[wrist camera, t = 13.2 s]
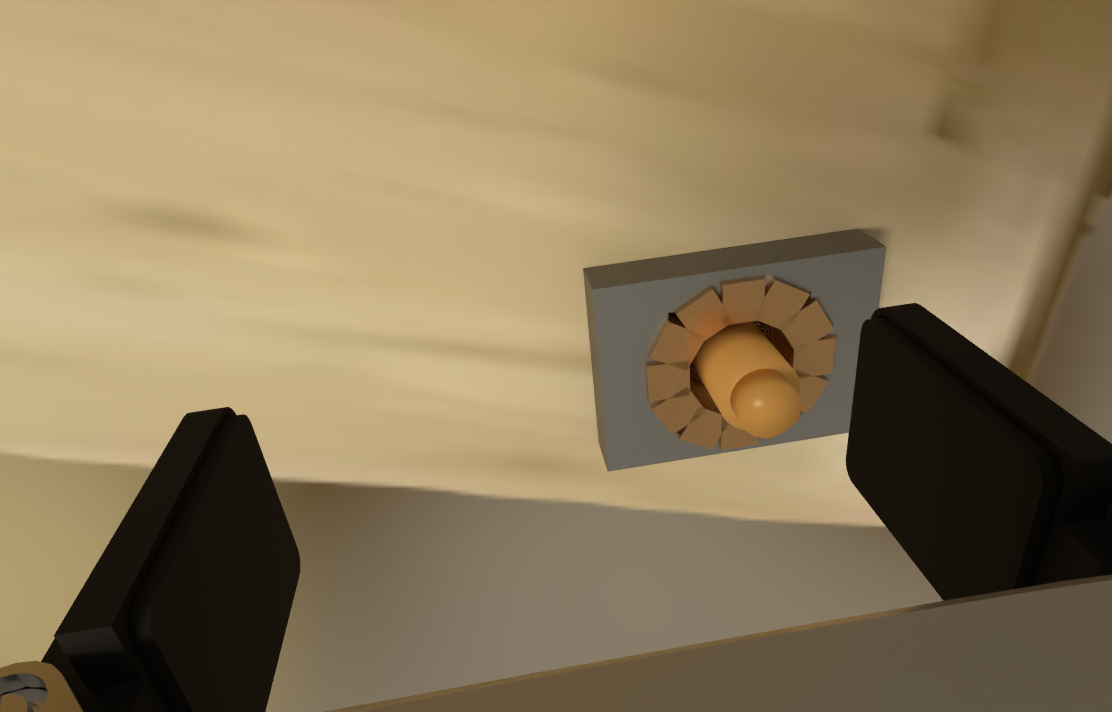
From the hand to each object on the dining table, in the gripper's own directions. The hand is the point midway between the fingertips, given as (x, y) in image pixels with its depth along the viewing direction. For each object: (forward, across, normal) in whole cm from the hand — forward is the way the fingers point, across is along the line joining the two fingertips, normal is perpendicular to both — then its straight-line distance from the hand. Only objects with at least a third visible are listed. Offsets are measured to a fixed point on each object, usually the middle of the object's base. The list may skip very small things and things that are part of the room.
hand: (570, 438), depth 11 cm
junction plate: (+28, -12, +15) cm, 34 cm away
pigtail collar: (+28, -12, +15) cm, 34 cm away
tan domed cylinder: (+28, -12, +15) cm, 34 cm away
